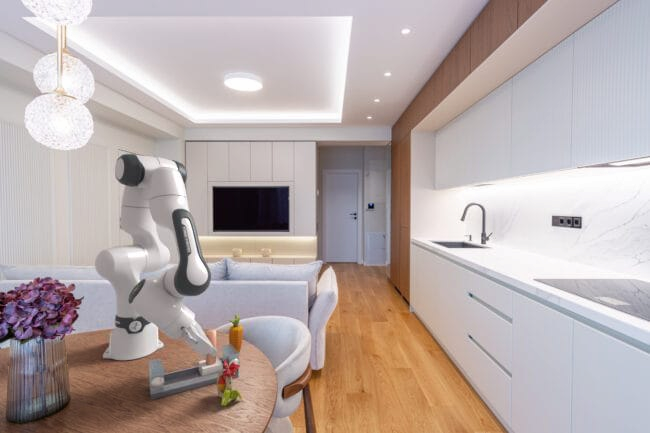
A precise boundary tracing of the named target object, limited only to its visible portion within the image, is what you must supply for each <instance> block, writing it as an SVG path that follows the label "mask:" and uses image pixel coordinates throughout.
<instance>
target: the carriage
mask: <svg viewBox="0 0 650 433" xmlns="http://www.w3.org/2000/svg"><path fill="white" fill-rule="evenodd" d="M205 332H206V333H205V335H206V336H207V338H208V339H209V341H210V342H211V344H212V345H213V347H214V348H216V349H217V329H216V328H210V329H207V330H206V331H205ZM221 360H222V359H220V358H219V356H218V357H217V355H216V356H215V357H214V356H212V355H211V354H209V353H208V354H207V355H206V356H205V359H204V360H200V361H199V360H198V366H199V372H200V374H201V376H205V375H209V374H213V373H217V372H220V371H221V370H223V363H222V362H221Z"/></svg>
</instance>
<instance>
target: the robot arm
mask: <svg viewBox="0 0 650 433" xmlns="http://www.w3.org/2000/svg"><path fill="white" fill-rule="evenodd" d="M114 165H115V167H114V176H115V179H116V180H117V181H118V183H119V184H121V185H123V186H124V188H123V193H122V197H121V198H122V200H121V206H120V208H121V209H120V220H119V221H120V223H119V224H120V227H121V230H122V231H123V232H125V233H126V234H128V235H130V236H131V238H132V244H127V245H117V246H113V247H109V248H107V249H103V250H101V251H99V253H98V254H97V255H96V258H95V260H94V267H95V270H96V272H97V274H98V275H99V276H100V277H101V278H104V279H105V280H107V281H108V282H109V283H110V284H111V286H112V287H113V289H114V292H115V298H116V314H115V318H114V326H115V328H114V329H113V330H112V331H111V332H110V333H109V335H108V336H109V337H108V338H109V343H108V347H107V348H106V349H105V351H104V352H103V354H102V359H112V360H115V361H131V360H136V359H141V358H144V357H146V356H147V357H148V356H149V355H151V354H153V353H154V352H155V351H157V350H160V349H161V348H163V347H164V346H165V345H164V342H163V341H161V340H160V339H159V331H160V332H162V333H163V334H164V335H166V336H167V337H169V338H170V339H171V340H176V339H183V341H184V342H185V343H186V344H187V345H188V346H189V347H190V348H191V349H193V350H194V351H195V352H196V353H197V354H199V355H200V356H202V357H206V355H207V354H208V353H209V354H211V355H212V356H214V357H215V356H216V357H217V356H218V355H219V353H220V352H219V350H218V349H217V347H216V348H214V347H213V345H212V344H211V342H210V341H209V339H208V338H207V336H206V333H205V331H204V330H203V328H202V326H201V325H200V324H199V323H198V322H197V321H196V319H195V318H196V314H195V312H194V311H192V310H191V309H189V307H187V306H186V305H184V304H183V303H182V301H183V299H184V298H185V297H196V296H200V295H202V294H203V293H204V292H206V291H207V289H208V288H209V287H210V284H211V280H212V274H211V273H212V272H211V269H210V268H209V265H208V264H207V263H208V262H206V260H205V258H204V255H203V251H202V248H201V243H200V238H199V233H198V230H197V227H196V223H195V220H194V217H193V215H192V214H191V211H190V207H189V202H188V196H187V191H186V186H185V184H186V182H187V177H188V172H187V169H186V167H185V165H184V164H183V163H181V162H180V161H178V160H174V159H171V160H170V159H167V158H164V157H159V156H149V155H139V154H138V155H137V154H134V153H126V154H125V153H124V154H122V155H120V156H118V158H117V159H116V162H115V164H114ZM157 225H158V226H159V227H161V228H163V229H164V228H165V229H168V230H170V232H171V233H172V234H173V237H174V242H175V246H176V247H175V248H176V250H177V256H178V263H177V265H175V266H172V267H169V268H167V269H166V270H164V271H162V272H161V273H159V274H157V275H154V276H151V277H148V278H142V279H141V278H140V275H143V274H149V273H154V272H157V271H159V270H163V268H166V267H167V266H168V264H169V263H170V260H171V252H170V250H169V248H168V247H167V245H165V244H164V243H163V242H162V241H161V240H160V238H159V234H158V231H157ZM140 279H141V280H140Z"/></svg>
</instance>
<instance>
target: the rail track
mask: <svg viewBox="0 0 650 433" xmlns="http://www.w3.org/2000/svg"><path fill="white" fill-rule="evenodd" d="M221 347H222V349H221V350H222V352H221V355H222V356H221V359H220V360H221V362H222V363H224V361H225V360H226V362H227V364H228V366H230V364H231V363H232V362H235V364H237V365H240V360H239V359H240V352H239V353H238V351H237V350H236V349H235V348H234V346H233V345H232V344H224V345H222V346H221ZM148 367H149V368H148V371H149V372H148V374H149V375H148V378H149V379H148V389H149V395H150V400H151V401H153V400H158V399H161V398H164V397H168V396H172V395H175V394H180V393H183V392H187V391H191V390H195V389H199V388H202V387H205V386H209V385H213V384H217V378H218V374H219V372H217V373H213V374H209V375H205V376H201V374H200V372H199V365H196V366H191V367H186V368H183V369H177V370H175V371H170V372H165V369H164V365H163V362H162V358H157V359H156V358H155V359H151V360H149V366H148ZM239 368H240V367H239ZM239 368H238V369H237V370H236V371H235V374H236V376H232V380H233V379H236V378H239V372H240V371H239ZM224 369H226V367H225V366H224V364H223V370H224Z"/></svg>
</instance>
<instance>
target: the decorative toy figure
mask: <svg viewBox="0 0 650 433" xmlns="http://www.w3.org/2000/svg"><path fill="white" fill-rule="evenodd" d="M223 364H224V366H225V367H226V369H224V370H221V371H220V372H219V374H218V378H217V383H216V388H217V397H219V398H221V406H224V407H226V406H227V405H228V403H229V401H230V400H237V399H238V398H239V399H240V400H242V399H243V397H242V394H241V392H240V391H239V390H238V389H233V379H232V376H236V374H235V371H236V370H237V369H238V368H240V367H241V364H239V365H237V364H235V362H232V363H231V364H230V366H228V364H227V362H226V360H225V361H224V363H223Z"/></svg>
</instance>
